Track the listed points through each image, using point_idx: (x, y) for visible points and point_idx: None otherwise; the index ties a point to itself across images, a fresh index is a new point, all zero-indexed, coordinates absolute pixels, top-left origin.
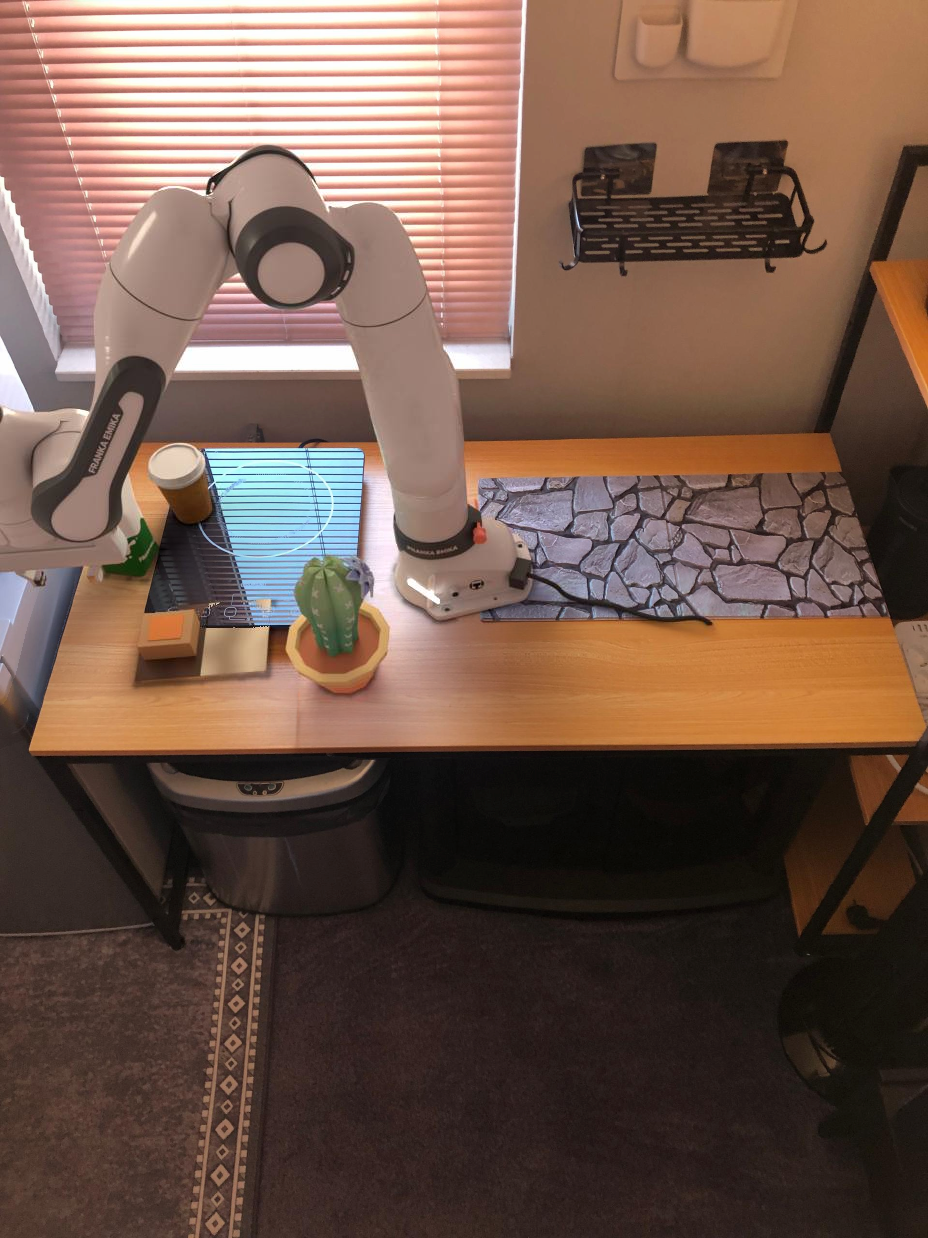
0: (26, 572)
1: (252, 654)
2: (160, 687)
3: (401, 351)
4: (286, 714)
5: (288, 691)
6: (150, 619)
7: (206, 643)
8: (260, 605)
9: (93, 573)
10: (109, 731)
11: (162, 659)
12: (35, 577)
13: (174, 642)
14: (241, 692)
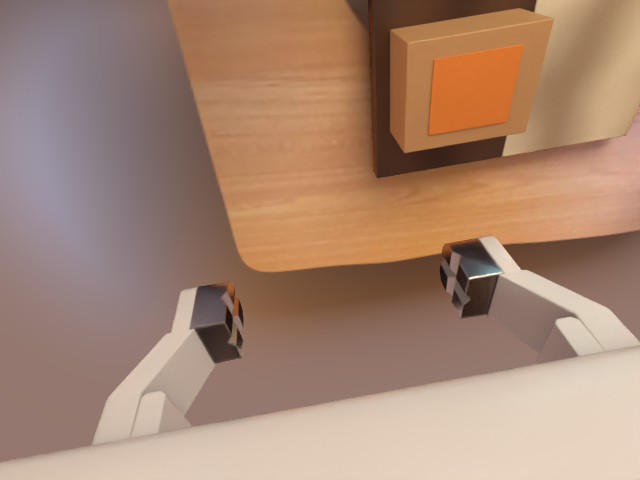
0: (180, 397)
1: (614, 99)
2: None
3: None
4: (616, 196)
5: (636, 158)
6: (430, 65)
7: None
8: None
9: (506, 328)
10: (344, 247)
11: None
12: (214, 354)
13: (490, 133)
14: (558, 166)
